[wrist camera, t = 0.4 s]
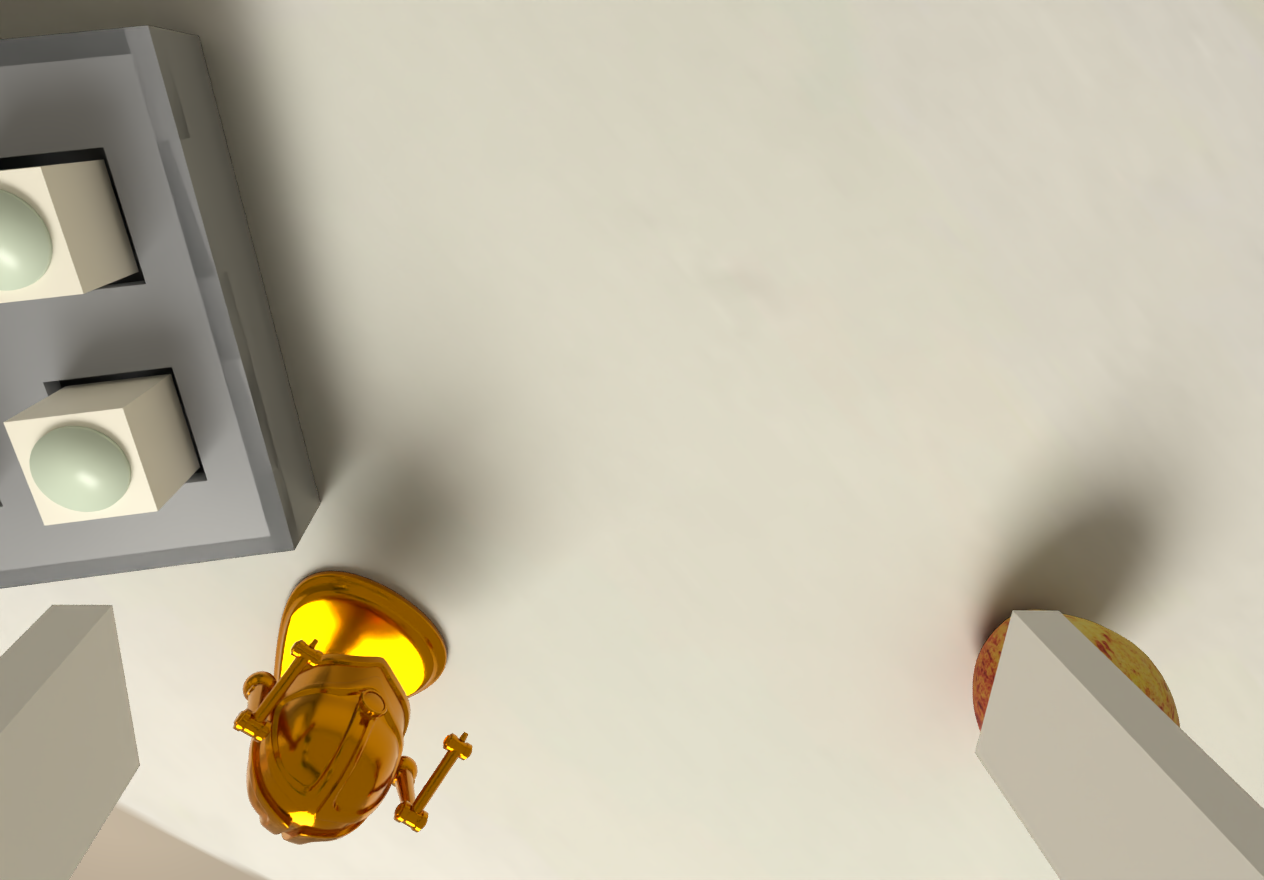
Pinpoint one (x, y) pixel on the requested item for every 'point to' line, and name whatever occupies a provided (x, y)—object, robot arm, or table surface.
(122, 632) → the table surface
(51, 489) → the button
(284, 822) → the figurine
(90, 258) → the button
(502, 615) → the table surface
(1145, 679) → the apple
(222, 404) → the button box
